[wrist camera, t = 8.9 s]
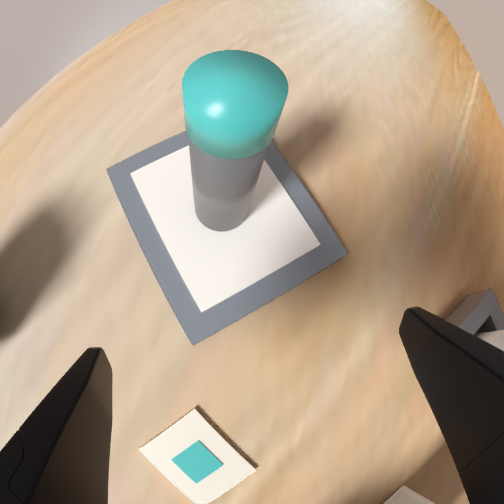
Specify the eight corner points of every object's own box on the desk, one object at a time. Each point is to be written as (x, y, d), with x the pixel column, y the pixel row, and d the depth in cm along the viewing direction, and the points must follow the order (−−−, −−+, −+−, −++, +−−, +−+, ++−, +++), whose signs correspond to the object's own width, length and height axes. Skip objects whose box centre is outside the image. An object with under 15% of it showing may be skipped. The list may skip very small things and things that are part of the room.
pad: (343, 256, 22) (348, 252, 21) (193, 345, 20) (192, 345, 19) (244, 113, 25) (246, 105, 24) (109, 174, 22) (105, 167, 21)
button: (498, 362, 19) (531, 360, 16) (471, 396, 18) (505, 399, 15) (483, 322, 20) (516, 316, 16) (454, 355, 19) (489, 354, 15)
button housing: (498, 364, 21) (520, 363, 18) (446, 424, 20) (469, 430, 17) (468, 294, 23) (491, 288, 20) (411, 351, 21) (435, 351, 18)
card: (255, 468, 18) (256, 470, 17) (200, 506, 16) (200, 508, 16) (194, 407, 18) (194, 409, 18) (139, 448, 17) (138, 449, 17)
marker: (261, 204, 22) (307, 83, 11) (224, 244, 21) (242, 139, 10) (219, 171, 22) (231, 39, 11) (181, 208, 21) (160, 84, 10)
